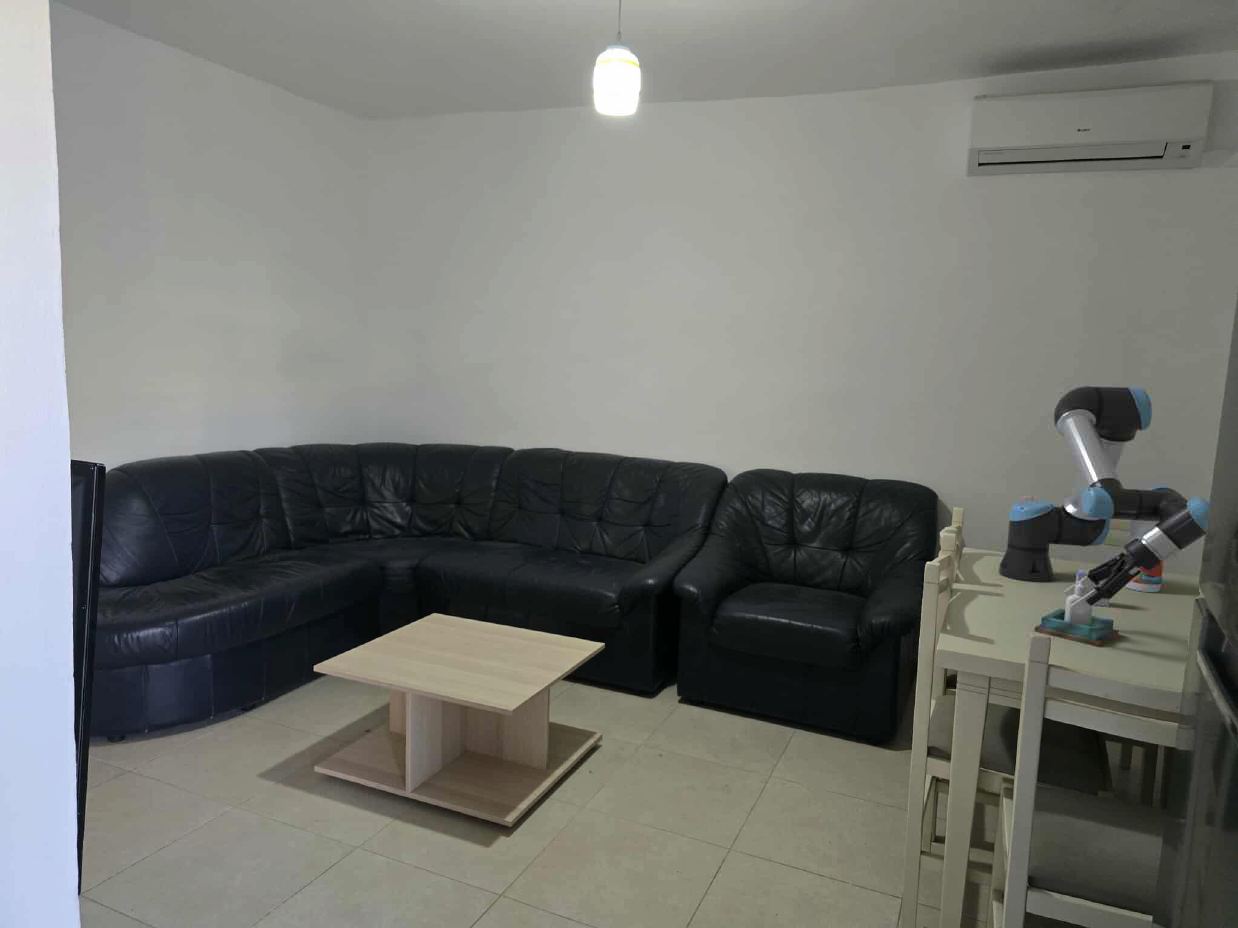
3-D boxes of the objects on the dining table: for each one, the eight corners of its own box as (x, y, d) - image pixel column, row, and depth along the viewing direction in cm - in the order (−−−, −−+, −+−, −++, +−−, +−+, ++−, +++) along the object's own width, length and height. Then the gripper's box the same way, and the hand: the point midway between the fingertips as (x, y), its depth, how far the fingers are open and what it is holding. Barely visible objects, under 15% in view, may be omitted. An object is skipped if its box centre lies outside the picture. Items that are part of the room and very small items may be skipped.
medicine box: (1106, 603, 221) (1109, 572, 220) (1108, 607, 217) (1111, 576, 216) (1073, 599, 224) (1076, 569, 223) (1075, 603, 220) (1078, 572, 219)
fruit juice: (1136, 583, 243) (1145, 492, 240) (1167, 591, 235) (1177, 497, 232) (1115, 585, 240) (1124, 493, 237) (1146, 594, 231) (1156, 498, 228)
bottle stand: (1034, 630, 194) (1035, 617, 194) (1056, 620, 204) (1057, 606, 203) (1098, 646, 184) (1099, 631, 184) (1118, 634, 193) (1119, 620, 193)
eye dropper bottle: (1063, 624, 197) (1068, 576, 196) (1090, 628, 194) (1094, 580, 193) (1063, 628, 193) (1068, 580, 192) (1090, 633, 191) (1095, 584, 189)
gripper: (1175, 573, 174) (1090, 629, 182) (1151, 551, 197) (1076, 602, 204) (1149, 547, 175) (1065, 604, 183) (1128, 527, 198) (1054, 579, 206)
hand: (1071, 603), depth 194 cm, fingers open, 13 cm apart
